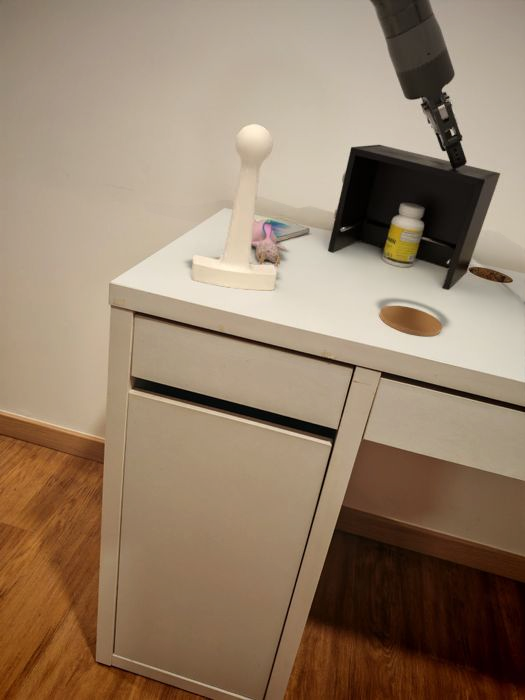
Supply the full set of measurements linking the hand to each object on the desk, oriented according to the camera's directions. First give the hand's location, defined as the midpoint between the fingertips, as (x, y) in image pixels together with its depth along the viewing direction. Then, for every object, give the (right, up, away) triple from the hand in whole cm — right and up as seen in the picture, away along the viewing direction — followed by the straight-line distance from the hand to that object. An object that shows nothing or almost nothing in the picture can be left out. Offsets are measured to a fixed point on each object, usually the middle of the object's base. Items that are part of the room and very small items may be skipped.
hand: (454, 157), depth 92 cm
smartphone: (-28, -10, +11) cm, 32 cm away
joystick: (-34, -21, -13) cm, 42 cm away
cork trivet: (-11, -27, -16) cm, 33 cm away
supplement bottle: (-7, -16, +8) cm, 19 cm away
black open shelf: (-7, -16, +8) cm, 19 cm away
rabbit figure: (-30, -15, +1) cm, 34 cm away
